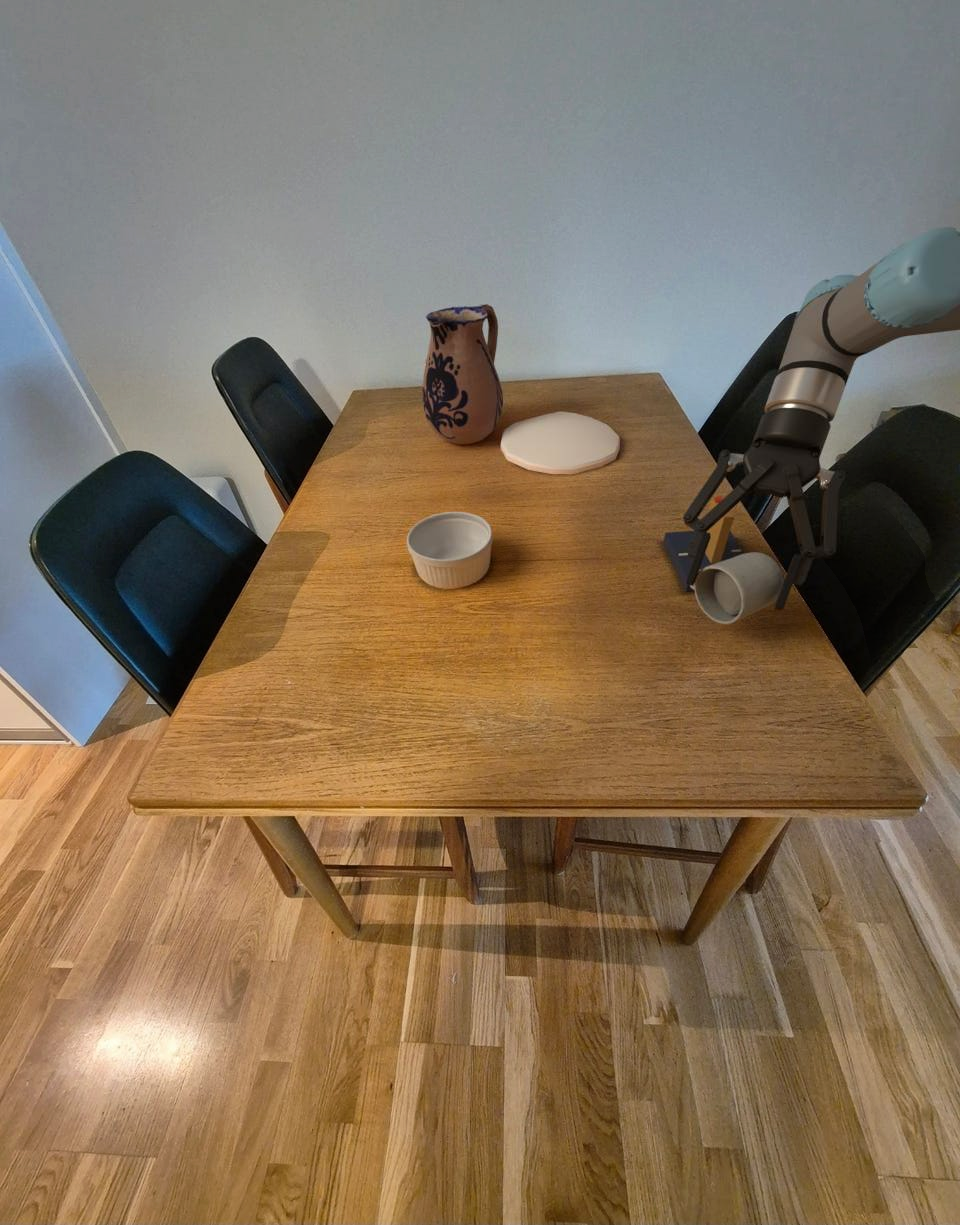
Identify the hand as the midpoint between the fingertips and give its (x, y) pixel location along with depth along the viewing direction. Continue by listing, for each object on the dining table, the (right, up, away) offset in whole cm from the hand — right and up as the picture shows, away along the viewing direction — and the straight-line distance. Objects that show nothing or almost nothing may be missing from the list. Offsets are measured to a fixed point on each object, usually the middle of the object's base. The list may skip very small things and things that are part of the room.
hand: (732, 595), depth 65 cm
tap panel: (+4, +5, +17) cm, 18 cm away
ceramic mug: (+1, -1, +5) cm, 5 cm away
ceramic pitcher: (-33, +39, +58) cm, 77 cm away
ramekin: (-35, +5, +21) cm, 41 cm away
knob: (+4, +7, +15) cm, 17 cm away
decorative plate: (-14, +33, +49) cm, 61 cm away
